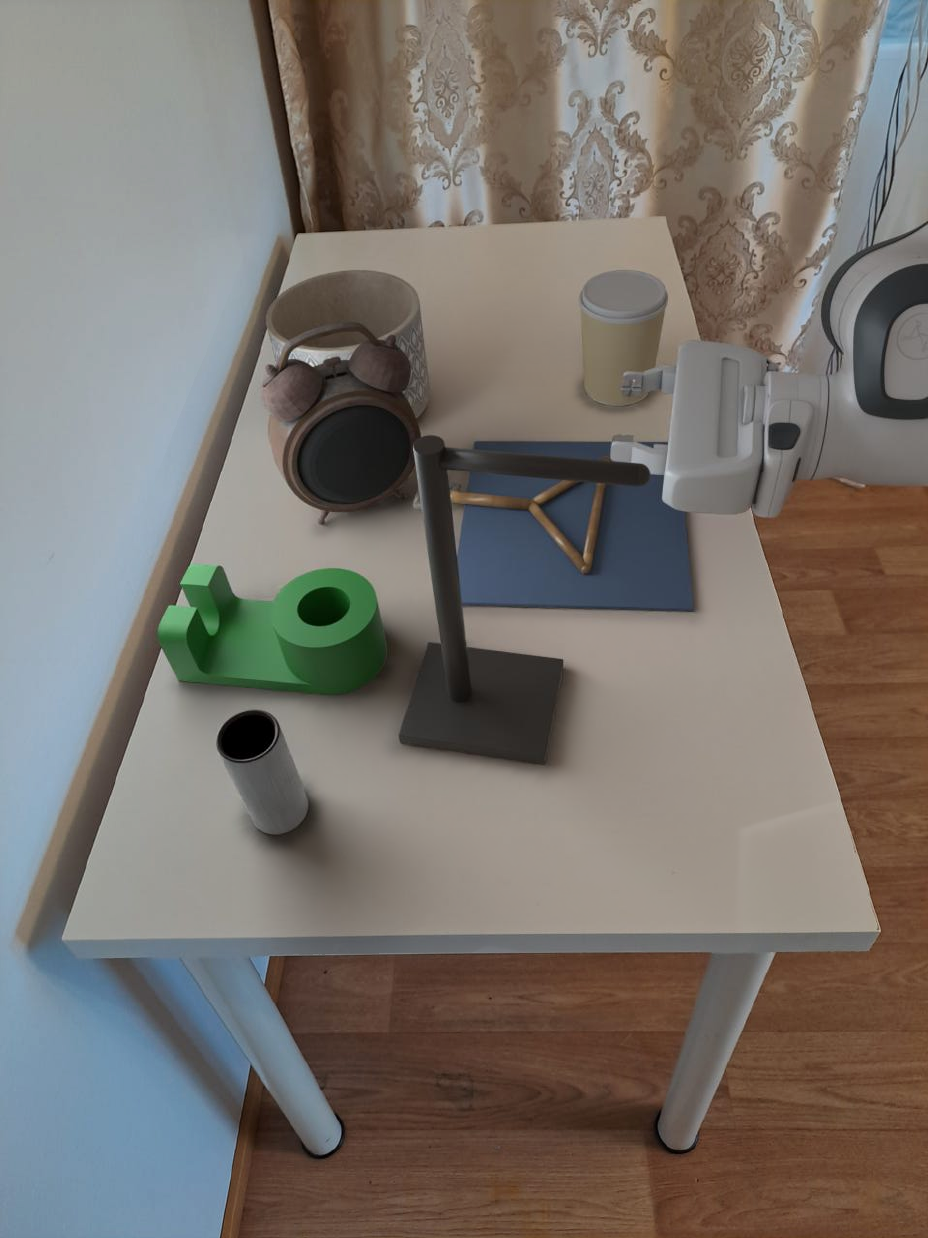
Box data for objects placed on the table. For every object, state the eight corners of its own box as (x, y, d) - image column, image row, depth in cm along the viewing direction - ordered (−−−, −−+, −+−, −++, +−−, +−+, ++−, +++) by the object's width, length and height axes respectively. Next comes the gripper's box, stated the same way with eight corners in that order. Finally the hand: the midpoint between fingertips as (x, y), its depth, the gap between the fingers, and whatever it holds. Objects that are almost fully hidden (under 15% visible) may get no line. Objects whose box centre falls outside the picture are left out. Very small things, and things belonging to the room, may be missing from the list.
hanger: (611, 453, 94) (435, 437, 98) (590, 568, 84) (394, 545, 87) (610, 462, 95) (436, 446, 99) (589, 577, 85) (395, 554, 88)
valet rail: (630, 676, 77) (658, 412, 57) (617, 776, 71) (644, 519, 50) (429, 650, 80) (389, 393, 60) (399, 743, 74) (343, 491, 54)
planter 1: (262, 845, 69) (226, 773, 61) (243, 799, 72) (207, 725, 64) (317, 818, 70) (289, 744, 62) (297, 775, 73) (267, 699, 65)
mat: (678, 444, 97) (678, 441, 97) (692, 611, 81) (693, 608, 81) (474, 443, 100) (474, 440, 99) (450, 605, 84) (450, 602, 84)
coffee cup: (656, 363, 107) (666, 267, 98) (660, 410, 101) (671, 312, 92) (577, 363, 108) (580, 268, 99) (576, 410, 102) (578, 313, 93)
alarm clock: (302, 545, 91) (253, 373, 76) (284, 502, 95) (235, 332, 80) (437, 502, 93) (416, 328, 79) (414, 462, 98) (389, 291, 83)
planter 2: (283, 383, 110) (258, 286, 100) (414, 356, 112) (401, 258, 102) (301, 465, 99) (274, 364, 90) (445, 433, 101) (434, 331, 92)
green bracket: (396, 620, 83) (387, 571, 78) (374, 699, 77) (362, 651, 72) (213, 605, 86) (193, 557, 81) (178, 680, 80) (154, 633, 75)
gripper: (785, 326, 81) (630, 319, 84) (790, 471, 68) (606, 457, 71) (772, 386, 86) (626, 377, 89) (774, 532, 73) (602, 517, 76)
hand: (616, 414), depth 80 cm, fingers open, 8 cm apart
